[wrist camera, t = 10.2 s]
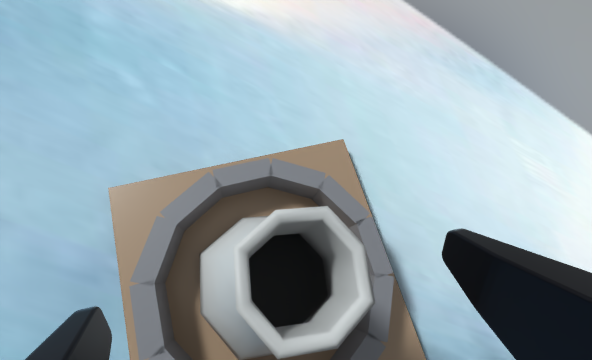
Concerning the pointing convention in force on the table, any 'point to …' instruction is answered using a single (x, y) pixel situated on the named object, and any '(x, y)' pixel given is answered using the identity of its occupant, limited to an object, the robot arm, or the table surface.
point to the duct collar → (215, 222)
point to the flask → (285, 283)
